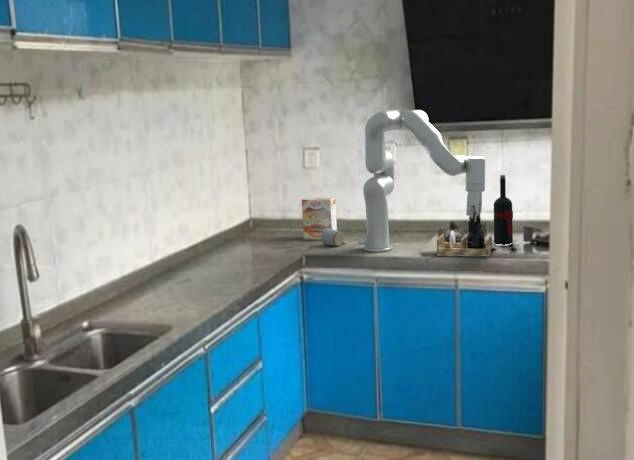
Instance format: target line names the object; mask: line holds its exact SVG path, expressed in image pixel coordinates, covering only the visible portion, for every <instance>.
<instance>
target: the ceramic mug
mask: <svg viewBox="0 0 634 460" xmlns="http://www.w3.org/2000/svg"><path fill="white" fill-rule="evenodd" d="M321 239H322V240H321V242H322V244H323V245H325V246H329V245H330V246H331V247H340V246H342V245H343V244H346V243H347V240H346V239H345V236H344V234H343V232H341V231H340V230H338V229H337V230H333V229H329V228H327V229H325V230H324V231H323V233H322V236H321Z"/></svg>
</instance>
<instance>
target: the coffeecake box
mask: <svg viewBox="0 0 634 460" xmlns="http://www.w3.org/2000/svg"><path fill="white" fill-rule="evenodd" d="M336 204H337V203H336V197H304V198H302V199H301V212H302V214H301V215H302V231H303V232H302V233H303V240H319V241H320V240H321V241H322V239H321V236H322V233H323V231H324V230H325V229H327V228H329V229H333V230H337V231H338V227H337V226H338V225H337V205H336Z"/></svg>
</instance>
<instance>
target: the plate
mask: <svg viewBox="0 0 634 460" xmlns="http://www.w3.org/2000/svg"><path fill="white" fill-rule="evenodd" d="M449 243H450V248H455V243H456V233H455V231H454V230H451V231H450V233H449Z"/></svg>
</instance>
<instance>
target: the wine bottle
mask: <svg viewBox="0 0 634 460" xmlns="http://www.w3.org/2000/svg"><path fill="white" fill-rule="evenodd" d="M499 182H500V183H499V195H500V197H498V198H496V199H495V201H494V202H493V244H494V243H495V244H503V245H505V244H510V243H512V242H513V241H514V240H513V239H514V238H513V237H514V236H513V235H514V234H513V233H514V231H513V219H514V212H513V211H514V210H513V202H512V200H511V199H510V198H509V197H506V189H507V188H506V175H505V174H499ZM513 243H514V242H513Z"/></svg>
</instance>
